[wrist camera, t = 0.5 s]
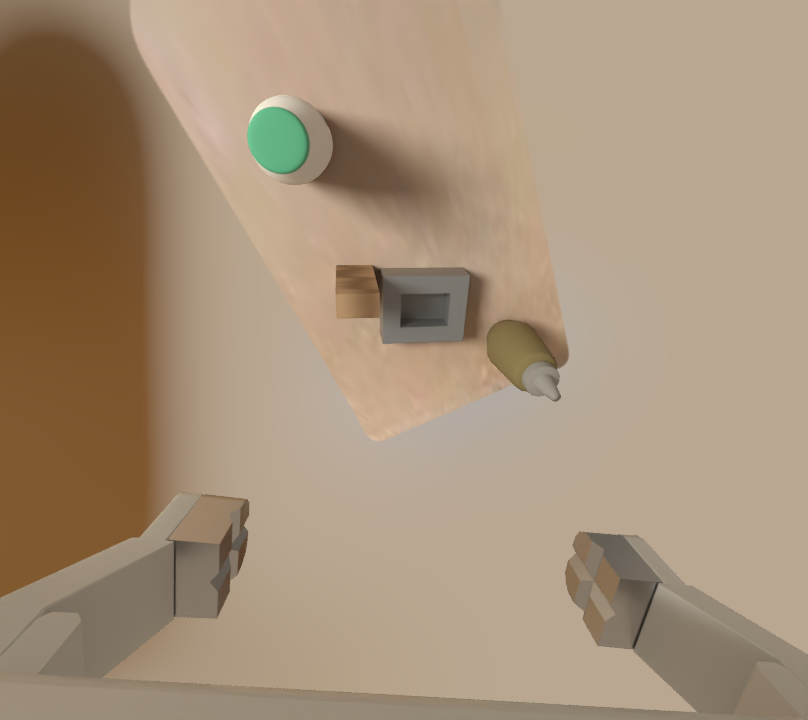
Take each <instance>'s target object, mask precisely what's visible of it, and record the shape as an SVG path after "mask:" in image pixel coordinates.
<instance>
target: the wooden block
mask: <svg viewBox="0 0 808 720" xmlns="http://www.w3.org/2000/svg"><path fill="white" fill-rule="evenodd" d="M336 310H337V319H342V318H380V293H379V289H378V285H377V281H376V277H375V274H374V270H373V266H372V265H336Z"/></svg>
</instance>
